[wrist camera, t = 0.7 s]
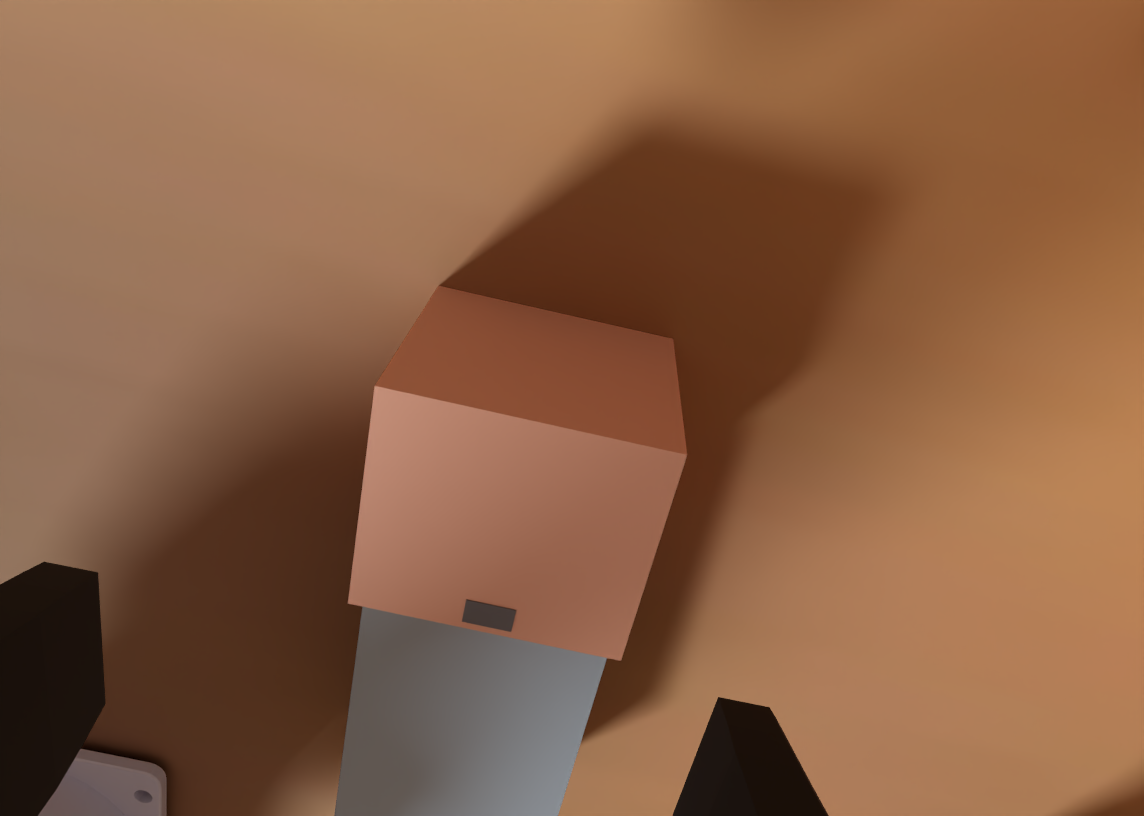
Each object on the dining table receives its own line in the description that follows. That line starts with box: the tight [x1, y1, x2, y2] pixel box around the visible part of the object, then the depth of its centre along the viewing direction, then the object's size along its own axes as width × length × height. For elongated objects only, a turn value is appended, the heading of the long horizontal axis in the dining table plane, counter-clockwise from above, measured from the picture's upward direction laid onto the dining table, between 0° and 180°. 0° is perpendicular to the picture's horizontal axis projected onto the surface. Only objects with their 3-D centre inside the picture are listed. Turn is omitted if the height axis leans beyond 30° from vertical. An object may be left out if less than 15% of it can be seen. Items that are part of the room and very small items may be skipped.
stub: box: [348, 286, 687, 661], centre depth 17 cm, size 4×5×5 cm
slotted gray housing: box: [334, 607, 607, 816], centre depth 20 cm, size 8×5×4 cm, turn 168°
